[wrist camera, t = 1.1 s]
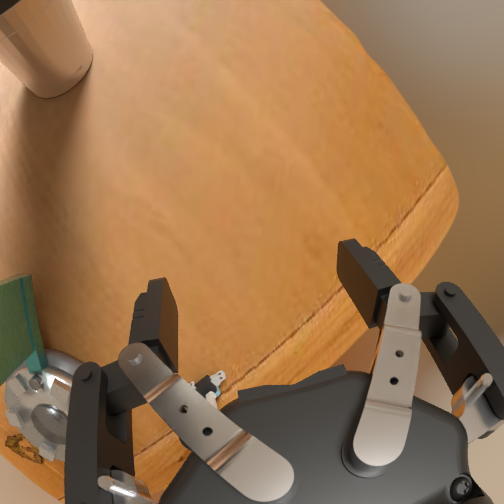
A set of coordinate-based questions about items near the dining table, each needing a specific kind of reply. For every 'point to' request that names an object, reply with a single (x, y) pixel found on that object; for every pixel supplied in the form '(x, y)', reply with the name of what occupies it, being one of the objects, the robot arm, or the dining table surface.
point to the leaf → (14, 446)
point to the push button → (208, 391)
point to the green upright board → (31, 372)
